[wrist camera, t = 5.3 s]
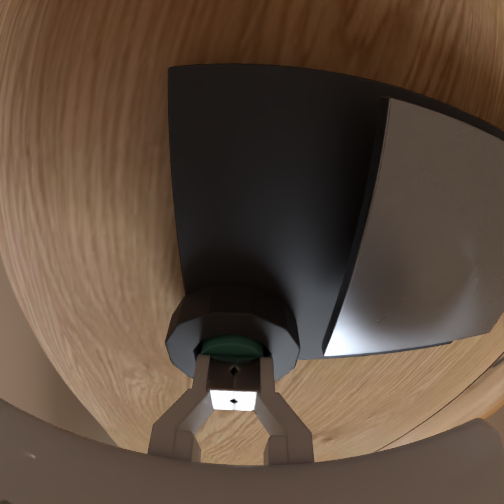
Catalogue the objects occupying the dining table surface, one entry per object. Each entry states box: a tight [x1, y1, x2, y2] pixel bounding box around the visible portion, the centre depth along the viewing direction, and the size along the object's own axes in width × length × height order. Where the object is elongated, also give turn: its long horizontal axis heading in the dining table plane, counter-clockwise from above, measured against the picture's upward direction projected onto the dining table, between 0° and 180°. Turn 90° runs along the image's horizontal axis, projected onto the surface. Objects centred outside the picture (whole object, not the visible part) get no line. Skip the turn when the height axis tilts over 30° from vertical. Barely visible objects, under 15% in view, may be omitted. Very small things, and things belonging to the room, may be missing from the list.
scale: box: [165, 63, 504, 381], centre depth 10 cm, size 17×13×3 cm
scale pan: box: [321, 96, 504, 356], centre depth 8 cm, size 10×9×1 cm
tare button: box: [201, 334, 264, 357], centre depth 11 cm, size 3×3×2 cm
